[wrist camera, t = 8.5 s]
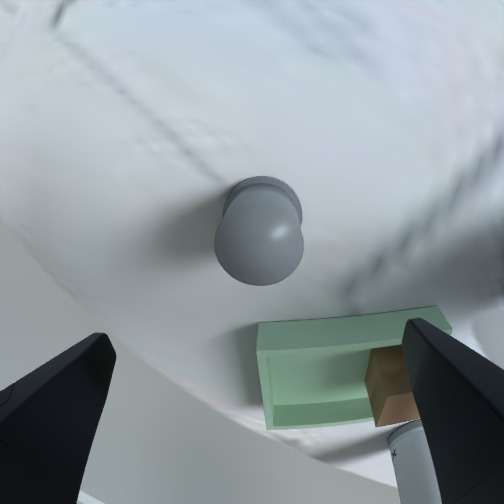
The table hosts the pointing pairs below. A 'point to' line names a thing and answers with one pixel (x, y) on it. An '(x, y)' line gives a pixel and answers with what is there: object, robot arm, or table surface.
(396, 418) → the walnut block
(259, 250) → the grey domed knob
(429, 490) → the travel mug
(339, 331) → the parts tray
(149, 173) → the table surface
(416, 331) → the robot arm
